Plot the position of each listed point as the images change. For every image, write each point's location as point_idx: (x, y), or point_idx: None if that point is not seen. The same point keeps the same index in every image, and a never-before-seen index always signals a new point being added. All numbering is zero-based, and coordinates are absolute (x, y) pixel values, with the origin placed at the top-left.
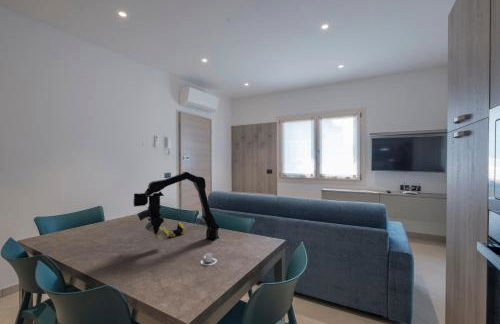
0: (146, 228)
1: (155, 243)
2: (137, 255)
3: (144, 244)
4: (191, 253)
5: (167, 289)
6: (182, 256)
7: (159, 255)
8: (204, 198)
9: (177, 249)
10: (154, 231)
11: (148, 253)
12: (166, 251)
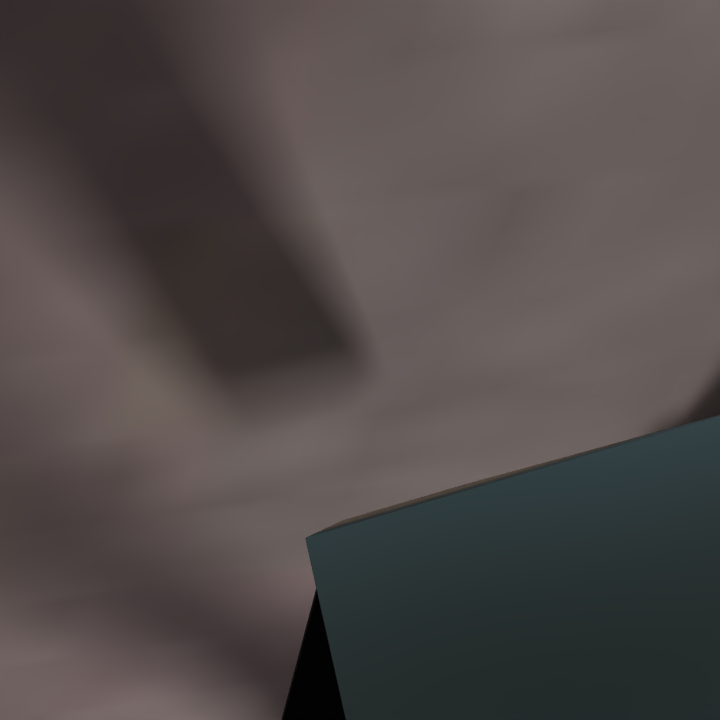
0: (317, 575)
1: (589, 328)
2: (186, 107)
3: (639, 175)
4: (118, 699)
5: None
6: (43, 649)
7: (118, 433)
8: None
9: (272, 580)
10: (302, 643)
11: (233, 281)
12: (243, 489)
